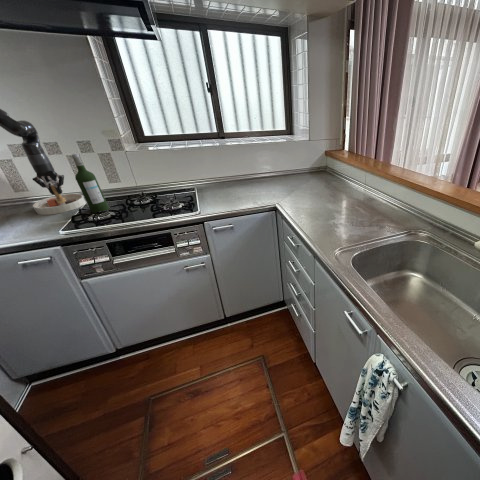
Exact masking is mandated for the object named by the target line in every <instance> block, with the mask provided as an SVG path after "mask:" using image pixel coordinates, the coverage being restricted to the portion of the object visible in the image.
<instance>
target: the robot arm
mask: <svg viewBox="0 0 480 480" xmlns="http://www.w3.org/2000/svg"><path fill="white" fill-rule="evenodd" d="M0 127H1V128H2V129H3V130H5V131H6V132H7V133H9V134H11V135H13V136H16V137H17V138H18V137H19V138H21V139H22V142H21V147H22V150H23V151H24V153H25V155H26V157H27V160H28V162H29V163H30V165H31V168H32V169H33V171H34V173H36V176H34V177H33V178H32V181H33V182H34V183H36V184H38V185H39V186H40V187H41V188H43V189H44V188H45V189H47V190H48V192H49V194H51V195H52V196H55V194H54V193H53V191H52V189H51V187H50V185H54V186H55V187H56V190H57V192H58V194H61V195H62V194H63V190H62V186H63V185H64V182H65V181H64V180H65V175H64V174H59V173H57V172H56V171H55V168H54V166H53V164H52V161H51V160H50V159H49V157H48V155H47V153H46V152H45V150H44V148H43V147H42V146H43V145H41V141H40V136H39V133H38V131H37V129H36V127H35V126H34V124H32V123H31V122H30V121H28V120H24V119H23V120H15V119H14V118H12V117H11V116H10V114H9V113H8V112H7V111H6V110H4V109H2V108H0Z"/></svg>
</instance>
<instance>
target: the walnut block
mask: <svg viewBox="0 0 480 480" xmlns="http://www.w3.org/2000/svg"><path fill="white" fill-rule="evenodd" d="M74 201H76V199H70V200H67V201H65V203H66V204H69V203H72V202H74Z"/></svg>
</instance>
